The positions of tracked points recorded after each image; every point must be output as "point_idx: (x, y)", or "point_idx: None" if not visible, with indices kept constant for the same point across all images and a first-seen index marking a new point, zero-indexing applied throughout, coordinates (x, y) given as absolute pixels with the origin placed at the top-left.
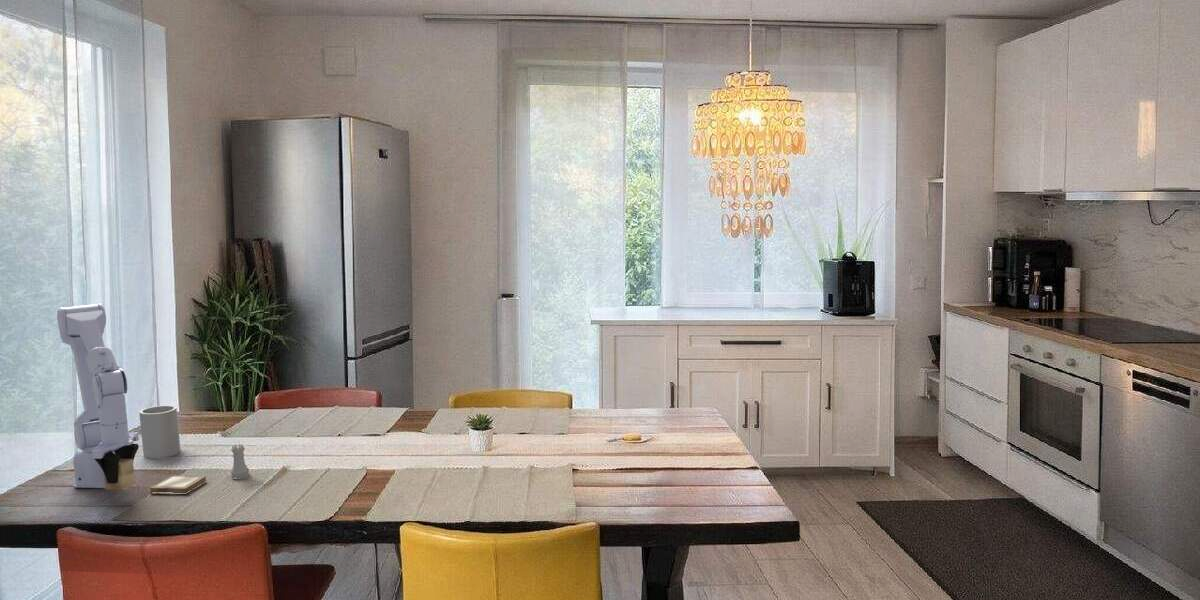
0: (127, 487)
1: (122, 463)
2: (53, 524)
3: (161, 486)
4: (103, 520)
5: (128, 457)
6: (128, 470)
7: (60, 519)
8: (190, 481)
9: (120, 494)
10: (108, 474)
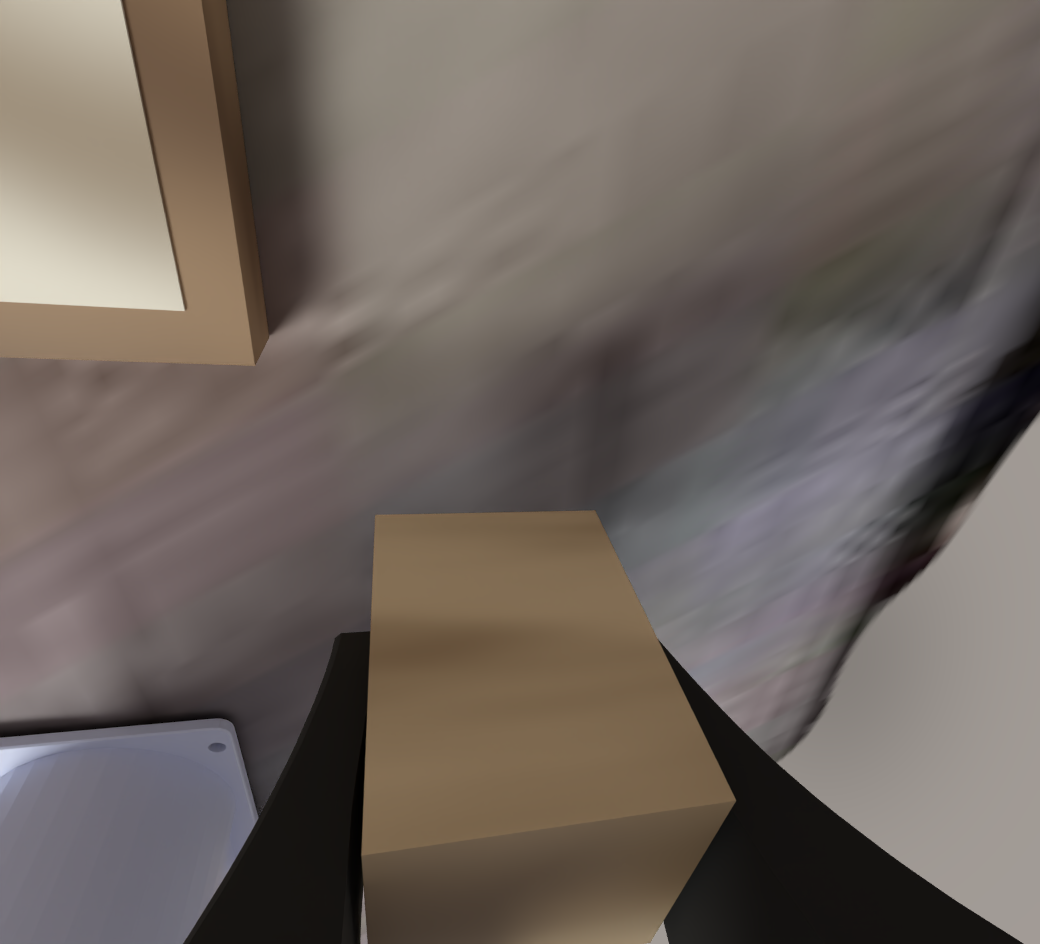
0: (520, 514)
1: (651, 823)
2: (868, 616)
3: (169, 232)
4: (931, 379)
5: (349, 930)
6: (508, 671)
7: (796, 630)
8: None
9: (332, 584)
10: None
